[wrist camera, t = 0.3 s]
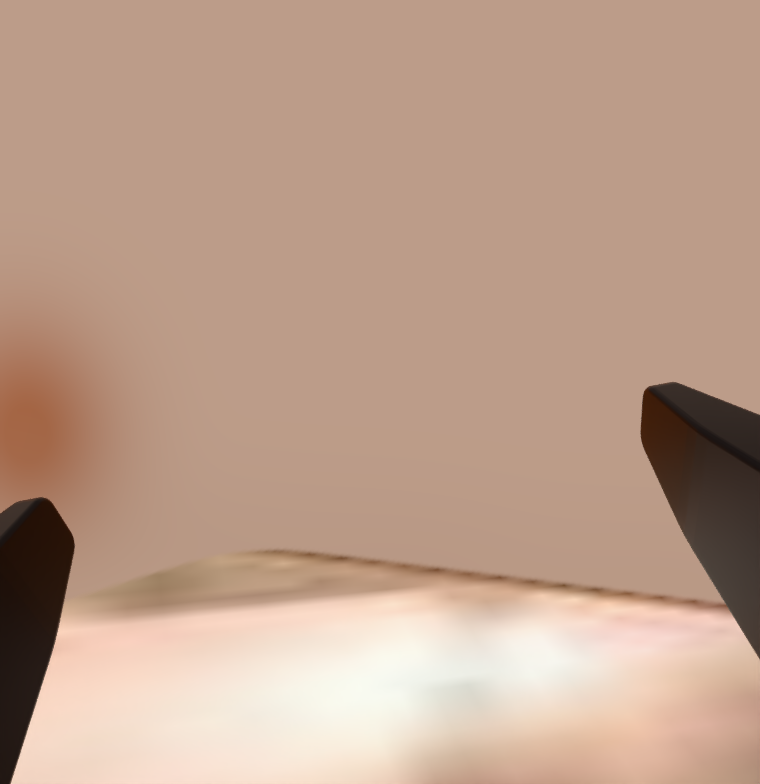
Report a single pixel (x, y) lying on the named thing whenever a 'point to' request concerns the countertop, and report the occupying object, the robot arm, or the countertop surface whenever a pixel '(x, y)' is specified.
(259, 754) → the countertop surface
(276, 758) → the countertop surface
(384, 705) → the countertop surface
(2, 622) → the robot arm
